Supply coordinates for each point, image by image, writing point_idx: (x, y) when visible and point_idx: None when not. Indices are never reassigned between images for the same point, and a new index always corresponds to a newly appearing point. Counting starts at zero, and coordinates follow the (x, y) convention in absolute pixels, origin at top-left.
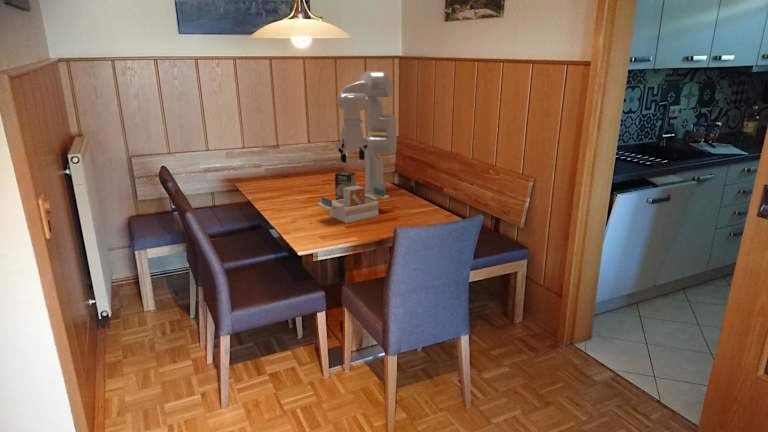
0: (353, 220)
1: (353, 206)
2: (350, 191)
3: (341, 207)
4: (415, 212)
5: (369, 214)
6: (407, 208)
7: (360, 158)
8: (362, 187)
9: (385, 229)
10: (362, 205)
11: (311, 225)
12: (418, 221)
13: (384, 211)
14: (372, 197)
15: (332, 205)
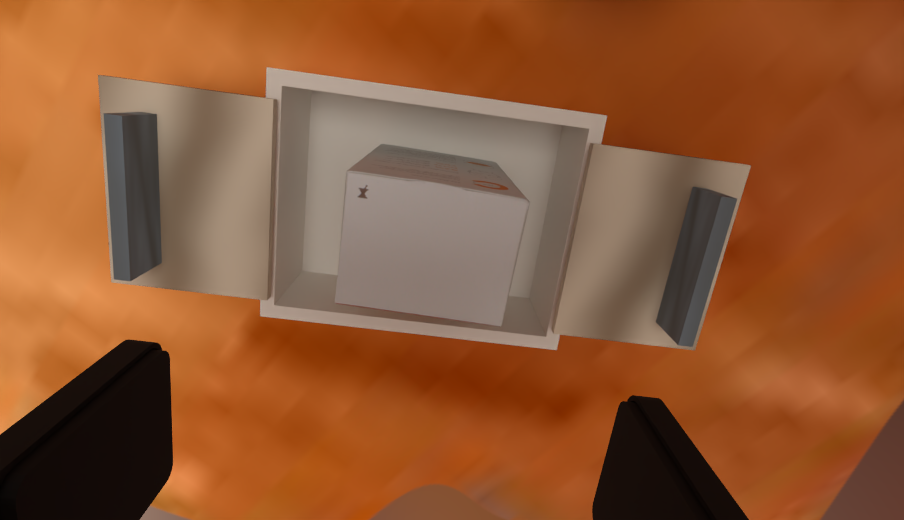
0: None
1: (337, 317)
2: (337, 301)
3: None
4: (742, 400)
5: None
6: (786, 315)
7: (617, 455)
8: (505, 294)
9: (396, 486)
10: (413, 332)
11: (89, 157)
12: None
13: None
14: (580, 281)
15: (183, 237)
